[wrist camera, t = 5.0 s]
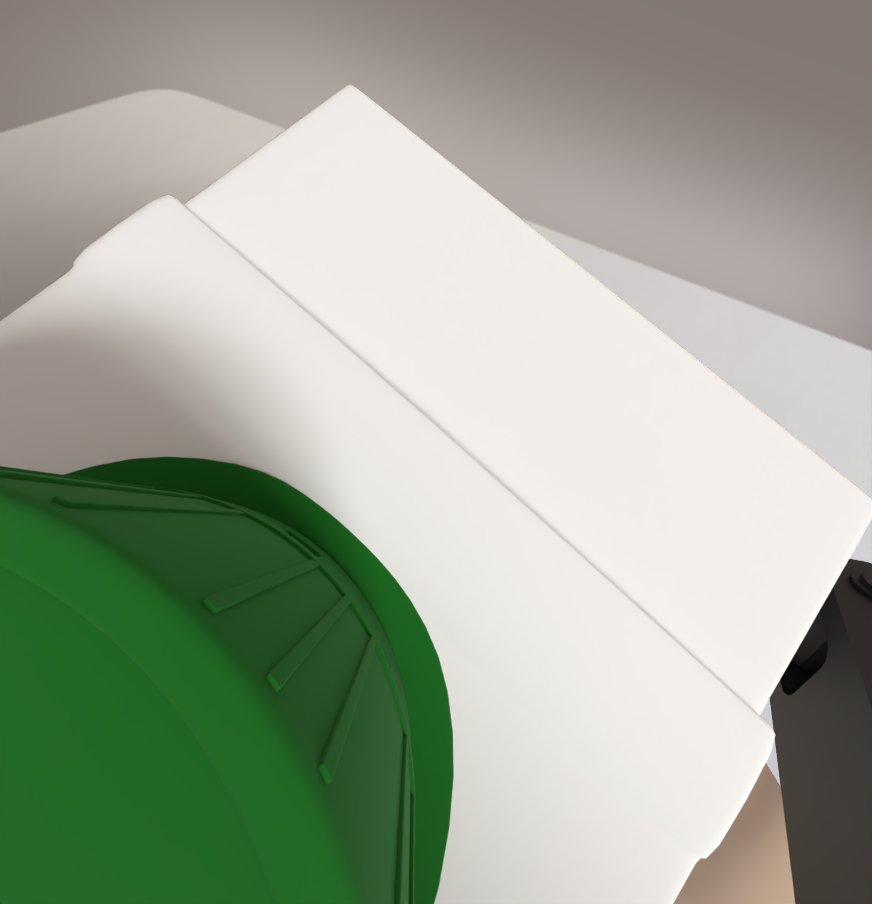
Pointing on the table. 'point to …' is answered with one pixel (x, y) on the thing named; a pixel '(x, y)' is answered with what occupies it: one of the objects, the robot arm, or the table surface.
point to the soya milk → (380, 555)
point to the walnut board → (747, 855)
